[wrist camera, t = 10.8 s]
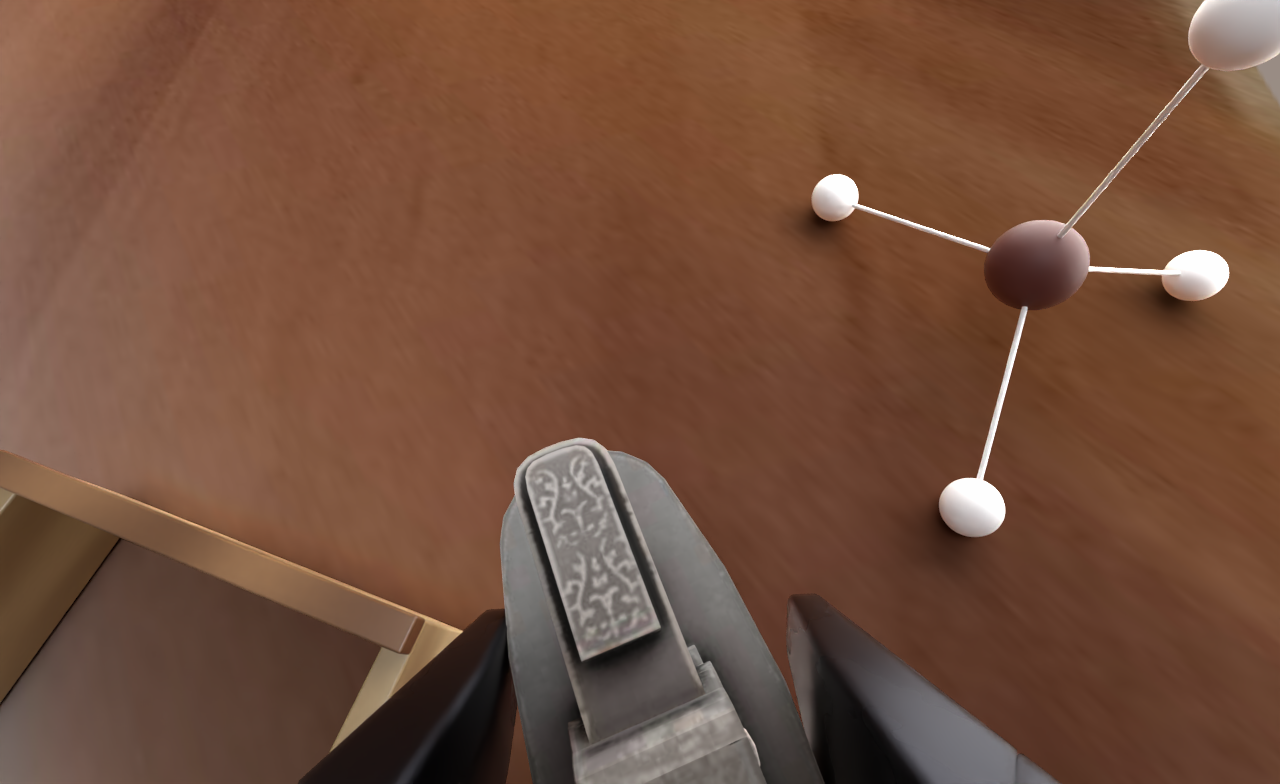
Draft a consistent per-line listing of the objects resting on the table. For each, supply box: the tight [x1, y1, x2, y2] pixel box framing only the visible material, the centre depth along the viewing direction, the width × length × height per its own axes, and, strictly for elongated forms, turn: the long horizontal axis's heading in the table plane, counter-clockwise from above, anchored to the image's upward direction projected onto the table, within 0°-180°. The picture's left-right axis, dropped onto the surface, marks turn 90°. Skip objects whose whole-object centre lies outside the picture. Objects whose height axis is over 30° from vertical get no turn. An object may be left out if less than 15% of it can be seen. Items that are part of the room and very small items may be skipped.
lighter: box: [500, 438, 825, 784], centre depth 10 cm, size 8×3×10 cm, turn 21°
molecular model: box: [812, 0, 1280, 537], centre depth 17 cm, size 13×15×13 cm
